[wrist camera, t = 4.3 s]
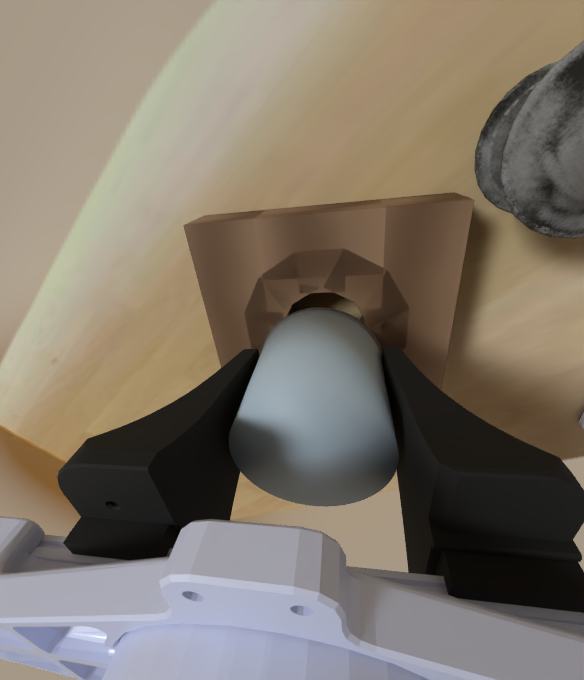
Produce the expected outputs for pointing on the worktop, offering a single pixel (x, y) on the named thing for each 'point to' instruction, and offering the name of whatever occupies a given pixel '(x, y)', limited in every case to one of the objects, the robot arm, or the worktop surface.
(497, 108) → the grey flared cylinder
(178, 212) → the worktop surface
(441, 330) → the board
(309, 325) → the peg
